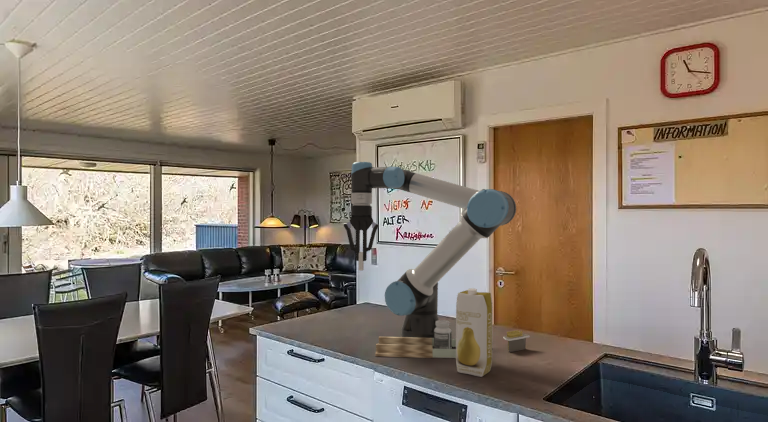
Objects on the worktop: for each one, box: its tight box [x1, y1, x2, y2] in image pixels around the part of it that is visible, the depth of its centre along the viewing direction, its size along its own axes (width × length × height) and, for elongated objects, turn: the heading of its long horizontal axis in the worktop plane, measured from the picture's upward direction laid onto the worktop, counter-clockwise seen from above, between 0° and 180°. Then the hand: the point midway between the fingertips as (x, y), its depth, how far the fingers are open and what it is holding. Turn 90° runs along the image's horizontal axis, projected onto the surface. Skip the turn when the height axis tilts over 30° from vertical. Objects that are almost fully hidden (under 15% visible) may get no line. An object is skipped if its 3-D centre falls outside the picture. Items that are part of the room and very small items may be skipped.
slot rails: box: [374, 336, 434, 359], centre depth 163 cm, size 18×15×3 cm
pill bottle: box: [433, 319, 453, 349], centre depth 162 cm, size 6×6×10 cm
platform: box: [502, 329, 530, 353], centre depth 165 cm, size 12×18×7 cm, turn 122°
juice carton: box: [455, 287, 493, 378], centre depth 142 cm, size 9×8×24 cm
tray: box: [432, 338, 456, 359], centre depth 162 cm, size 14×14×2 cm
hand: (361, 270), depth 179 cm, fingers closed
